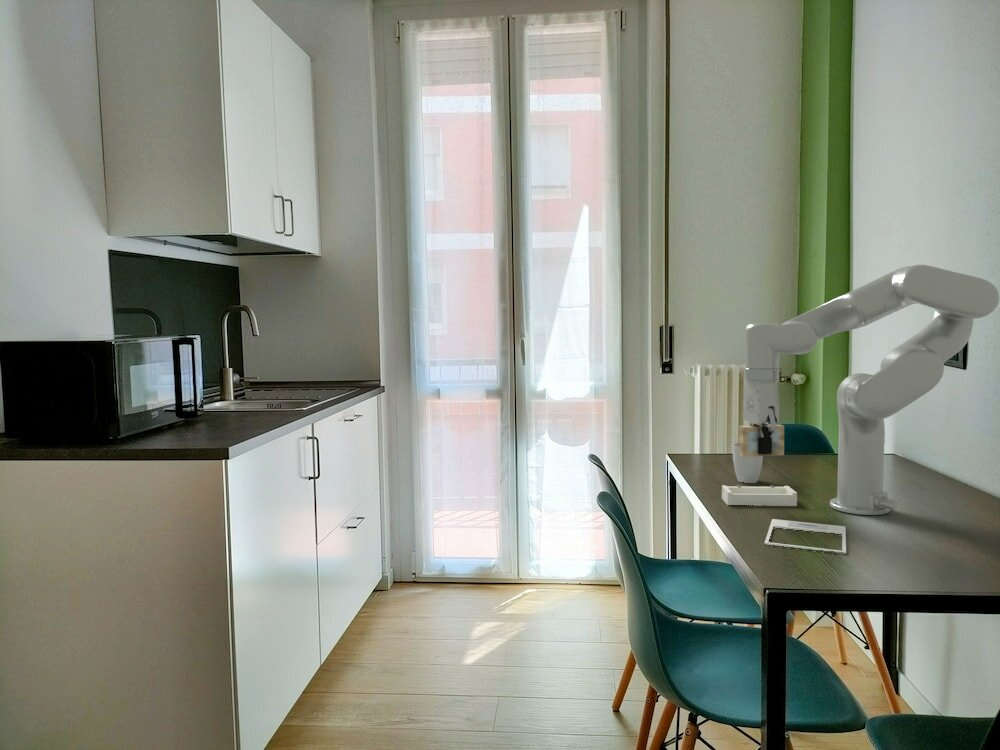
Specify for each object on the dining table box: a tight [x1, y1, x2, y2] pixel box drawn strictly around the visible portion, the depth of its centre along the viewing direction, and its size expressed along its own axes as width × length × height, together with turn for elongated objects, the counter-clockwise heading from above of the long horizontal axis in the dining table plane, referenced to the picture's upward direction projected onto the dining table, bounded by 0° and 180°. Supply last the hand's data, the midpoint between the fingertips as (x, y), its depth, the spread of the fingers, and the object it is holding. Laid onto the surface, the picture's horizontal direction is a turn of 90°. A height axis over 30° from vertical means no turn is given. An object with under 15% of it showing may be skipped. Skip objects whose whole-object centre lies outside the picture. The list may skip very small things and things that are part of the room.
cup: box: [732, 442, 764, 484], centre depth 194 cm, size 8×8×10 cm
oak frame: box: [738, 423, 785, 457], centre depth 168 cm, size 10×3×7 cm, turn 94°
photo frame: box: [763, 518, 847, 554], centre depth 146 cm, size 15×1×18 cm
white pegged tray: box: [721, 484, 798, 507], centre depth 173 cm, size 16×7×3 cm, turn 84°
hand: (761, 452), depth 169 cm, fingers closed on oak frame, 2 cm apart
